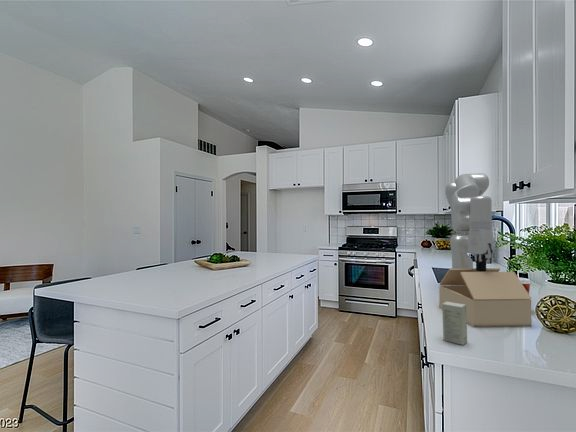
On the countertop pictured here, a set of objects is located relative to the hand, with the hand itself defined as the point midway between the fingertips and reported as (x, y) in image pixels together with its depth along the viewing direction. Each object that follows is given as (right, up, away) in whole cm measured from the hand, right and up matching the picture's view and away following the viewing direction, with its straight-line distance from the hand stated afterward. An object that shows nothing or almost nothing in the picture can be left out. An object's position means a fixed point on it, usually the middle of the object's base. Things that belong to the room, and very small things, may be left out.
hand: (481, 271), depth 124 cm
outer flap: (0, -4, -7) cm, 9 cm away
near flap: (0, -4, +8) cm, 9 cm away
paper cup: (+21, -19, +7) cm, 29 cm away
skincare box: (-24, -19, -24) cm, 39 cm away
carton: (0, -19, 0) cm, 19 cm away
